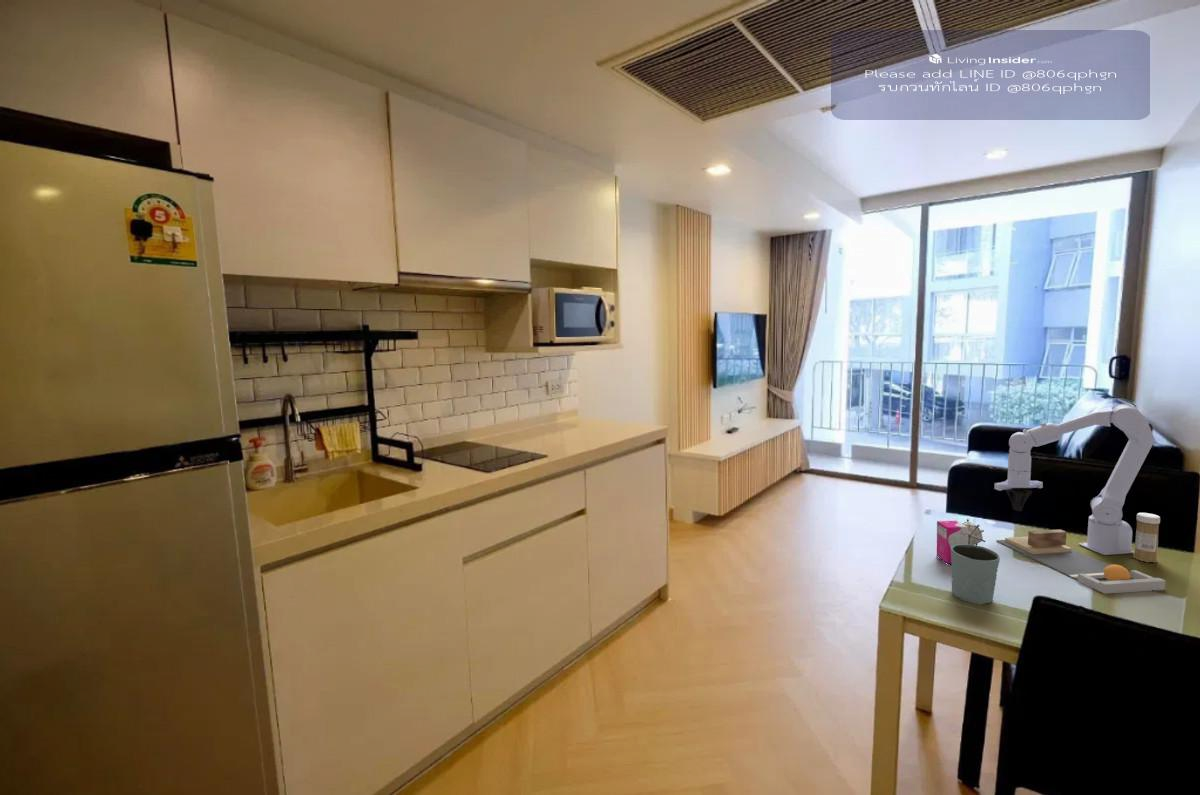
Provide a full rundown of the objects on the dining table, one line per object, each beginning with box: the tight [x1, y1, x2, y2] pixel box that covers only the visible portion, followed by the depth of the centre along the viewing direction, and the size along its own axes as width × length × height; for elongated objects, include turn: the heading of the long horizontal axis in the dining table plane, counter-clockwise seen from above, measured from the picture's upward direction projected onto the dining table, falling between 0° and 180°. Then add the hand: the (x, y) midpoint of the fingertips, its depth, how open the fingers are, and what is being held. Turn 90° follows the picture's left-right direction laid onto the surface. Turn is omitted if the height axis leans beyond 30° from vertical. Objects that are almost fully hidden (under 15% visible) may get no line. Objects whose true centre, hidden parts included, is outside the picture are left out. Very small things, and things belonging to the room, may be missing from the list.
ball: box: [1104, 564, 1132, 581], centre depth 135 cm, size 5×5×5 cm
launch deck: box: [996, 535, 1166, 595], centre depth 147 cm, size 16×34×2 cm, turn 2°
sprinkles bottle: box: [1133, 512, 1161, 563], centre depth 146 cm, size 5×5×13 cm
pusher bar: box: [1027, 528, 1068, 547], centre depth 155 cm, size 10×2×4 cm, turn 92°
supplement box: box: [936, 520, 968, 565], centre depth 152 cm, size 6×6×12 cm
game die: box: [961, 518, 986, 546], centre depth 161 cm, size 9×8×10 cm
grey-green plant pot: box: [950, 544, 1001, 604], centre depth 132 cm, size 10×10×12 cm
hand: (1017, 510), depth 167 cm, fingers closed
